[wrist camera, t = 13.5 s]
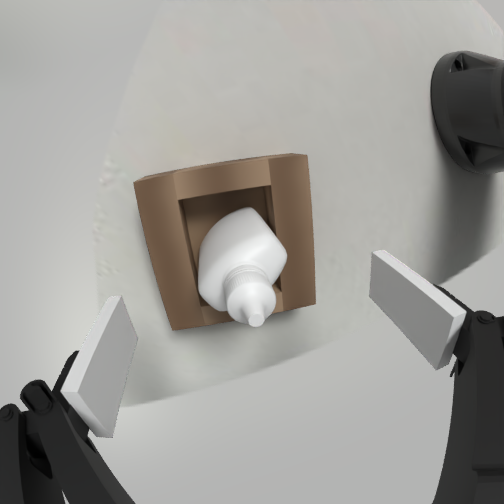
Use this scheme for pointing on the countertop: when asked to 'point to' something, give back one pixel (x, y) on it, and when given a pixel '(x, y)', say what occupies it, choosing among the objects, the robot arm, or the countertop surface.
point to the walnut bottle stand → (214, 209)
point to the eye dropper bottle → (241, 266)
